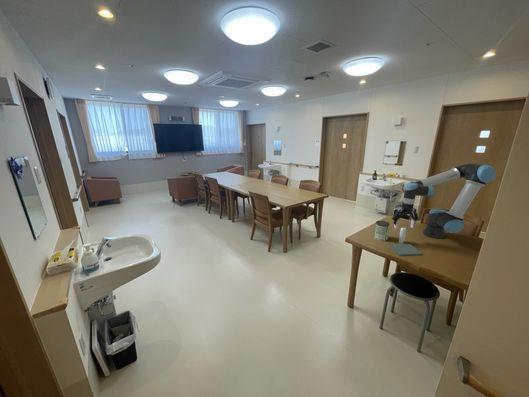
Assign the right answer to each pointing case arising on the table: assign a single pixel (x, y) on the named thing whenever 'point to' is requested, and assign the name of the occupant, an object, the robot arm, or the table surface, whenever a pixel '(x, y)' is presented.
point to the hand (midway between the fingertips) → (403, 227)
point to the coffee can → (381, 230)
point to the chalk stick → (402, 235)
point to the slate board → (405, 249)
